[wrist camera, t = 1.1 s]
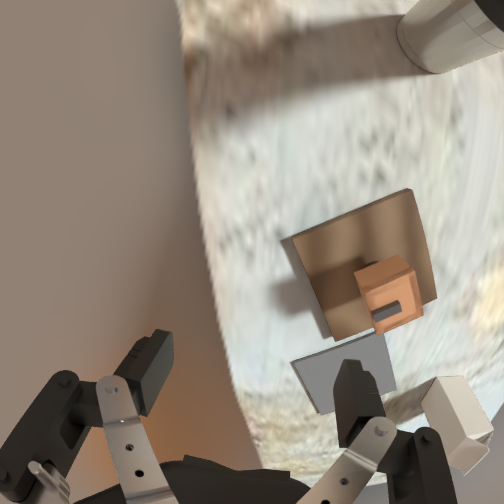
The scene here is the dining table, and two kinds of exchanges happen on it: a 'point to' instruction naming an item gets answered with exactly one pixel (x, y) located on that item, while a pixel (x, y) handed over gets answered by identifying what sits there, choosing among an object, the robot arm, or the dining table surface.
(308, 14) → the dining table surface
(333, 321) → the brown board
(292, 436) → the dining table surface
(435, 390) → the milk carton
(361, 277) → the tan cube with tab
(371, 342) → the mat
